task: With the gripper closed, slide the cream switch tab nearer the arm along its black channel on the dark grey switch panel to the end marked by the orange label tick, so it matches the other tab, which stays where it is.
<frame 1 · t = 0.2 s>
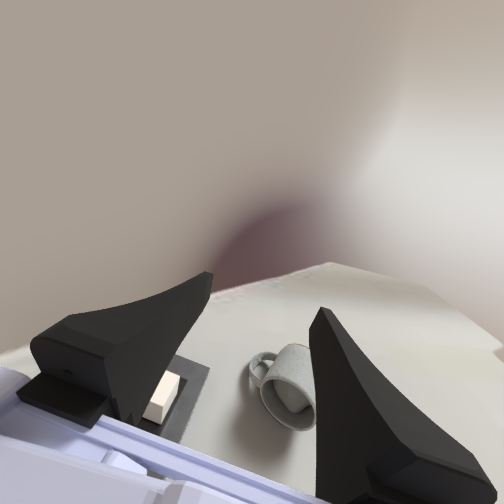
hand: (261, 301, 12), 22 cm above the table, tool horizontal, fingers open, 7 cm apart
ceramic mug: (277, 389, 28), on the table
switch panel: (94, 445, 18), on the table
switch tab a: (158, 394, 20), point 4 cm above the table, slide at 0.0 cm
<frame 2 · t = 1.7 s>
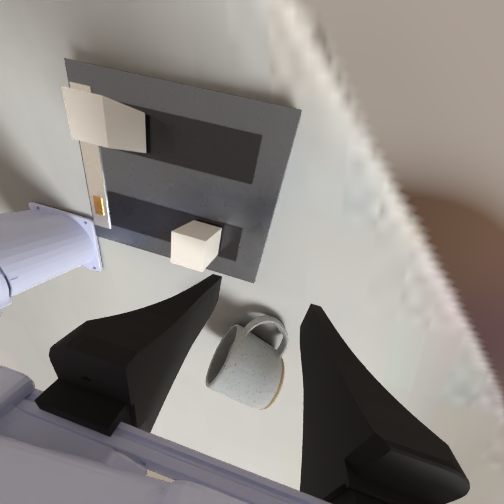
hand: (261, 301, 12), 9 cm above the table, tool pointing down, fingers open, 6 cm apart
switch tab b: (110, 124, 14), point 4 cm above the table, slide at 8.0 cm
ceramic mug: (255, 335, 27), on the table
switch panel: (184, 186, 19), on the table
switch tab a: (197, 244, 17), point 4 cm above the table, slide at 0.0 cm
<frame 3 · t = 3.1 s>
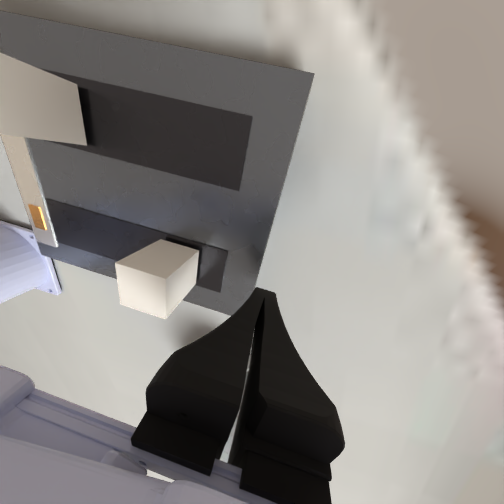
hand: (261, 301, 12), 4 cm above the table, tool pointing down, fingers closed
switch tab b: (16, 99, 9), point 4 cm above the table, slide at 8.0 cm
switch panel: (151, 192, 14), on the table
switch tab a: (162, 275, 12), point 4 cm above the table, slide at 0.0 cm
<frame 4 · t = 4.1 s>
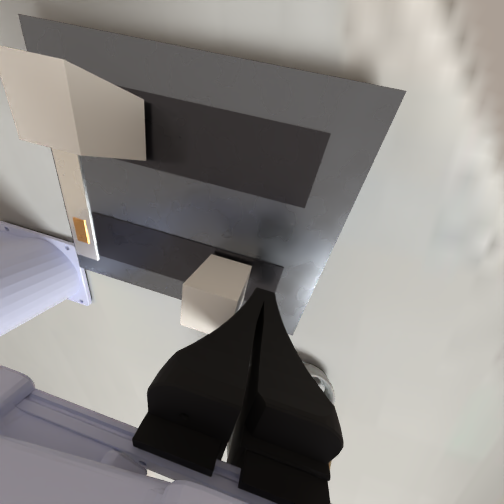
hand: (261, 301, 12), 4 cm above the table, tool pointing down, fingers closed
switch tab b: (88, 117, 9), point 4 cm above the table, slide at 8.0 cm
ceramic mug: (285, 382, 21), on the table
switch panel: (199, 205, 14), on the table
switch tab a: (219, 292, 12), point 4 cm above the table, slide at 0.2 cm, touching gripper
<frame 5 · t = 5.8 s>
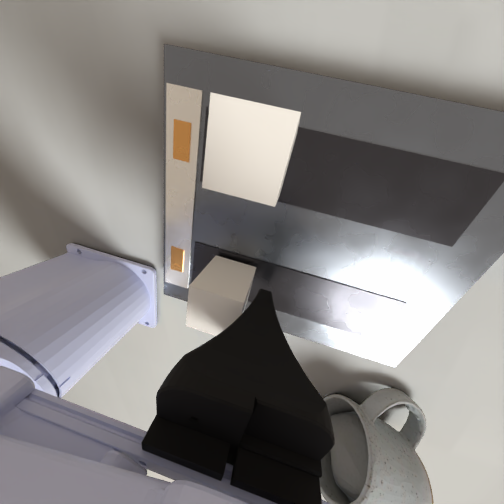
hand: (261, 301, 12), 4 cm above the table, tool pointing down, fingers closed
switch tab b: (254, 158, 8), point 4 cm above the table, slide at 8.0 cm
ceramic mug: (359, 404, 20), on the table
switch panel: (304, 234, 13), on the table
switch tab a: (223, 294, 12), point 4 cm above the table, slide at 8.2 cm, touching gripper
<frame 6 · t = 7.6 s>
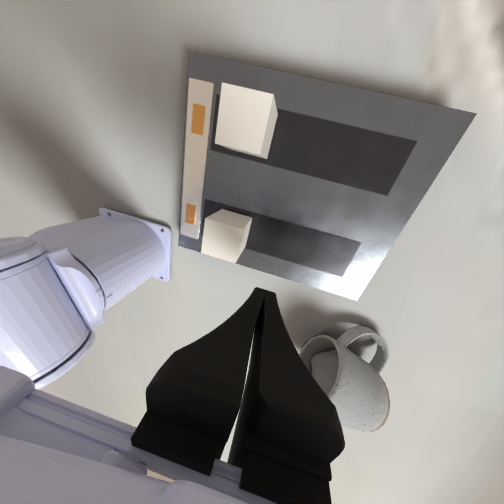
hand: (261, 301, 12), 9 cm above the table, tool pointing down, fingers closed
switch tab b: (248, 127, 12), point 4 cm above the table, slide at 8.0 cm
ceramic mug: (338, 346, 24), on the table
switch panel: (287, 194, 18), on the table
switch tab a: (228, 234, 16), point 4 cm above the table, slide at 8.1 cm
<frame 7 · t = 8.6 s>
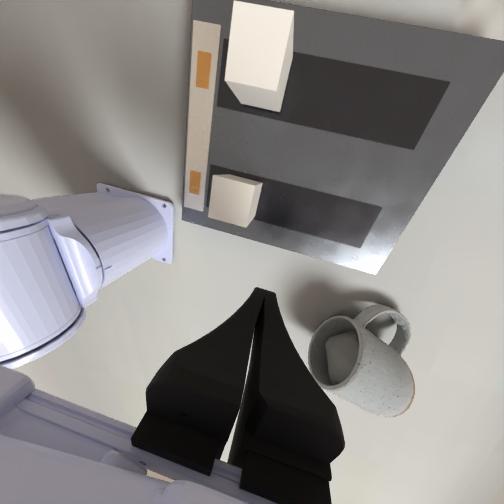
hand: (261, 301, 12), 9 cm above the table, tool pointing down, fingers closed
switch tab b: (261, 67, 11), point 4 cm above the table, slide at 8.0 cm
ceramic mug: (353, 328, 23), on the table
switch panel: (300, 159, 16), on the table
switch tab a: (237, 198, 14), point 4 cm above the table, slide at 8.1 cm
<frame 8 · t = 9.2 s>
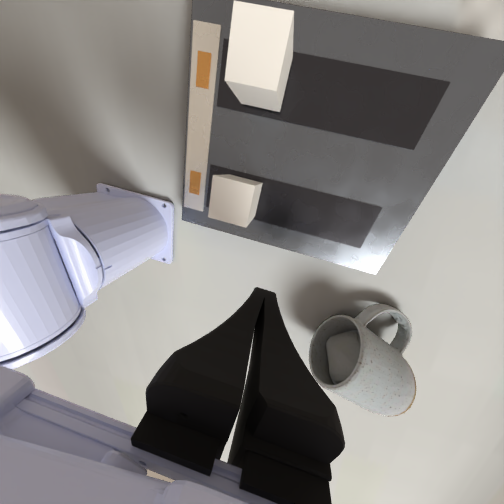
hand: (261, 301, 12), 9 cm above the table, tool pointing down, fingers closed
switch tab b: (261, 67, 11), point 4 cm above the table, slide at 8.0 cm
ceramic mug: (354, 328, 23), on the table
switch panel: (300, 159, 16), on the table
switch tab a: (237, 198, 14), point 4 cm above the table, slide at 8.1 cm
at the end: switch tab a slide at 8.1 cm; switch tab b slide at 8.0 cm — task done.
